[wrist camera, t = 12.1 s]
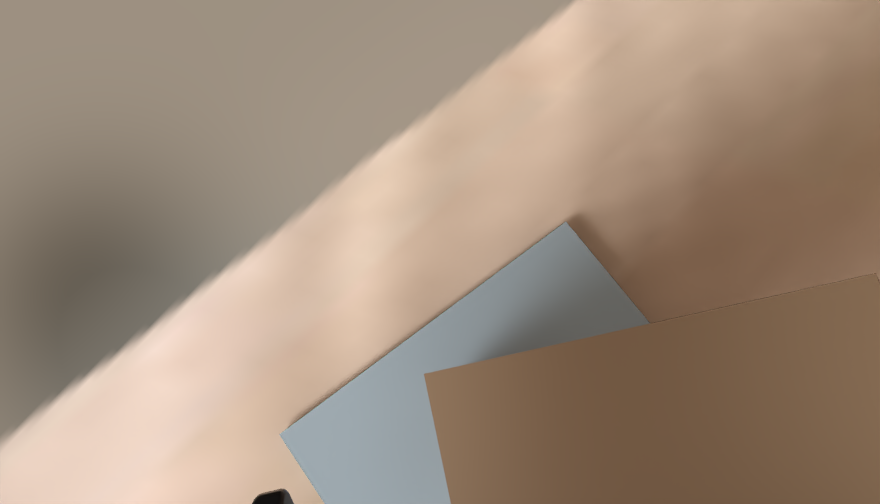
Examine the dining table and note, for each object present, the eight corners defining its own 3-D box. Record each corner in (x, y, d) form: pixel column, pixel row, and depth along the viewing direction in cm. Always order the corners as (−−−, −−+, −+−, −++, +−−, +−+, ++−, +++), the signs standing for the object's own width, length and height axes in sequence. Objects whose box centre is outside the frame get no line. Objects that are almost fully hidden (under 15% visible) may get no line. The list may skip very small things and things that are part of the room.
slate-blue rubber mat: (799, 513, 17) (810, 516, 17) (505, 768, 16) (506, 780, 15) (562, 226, 19) (565, 221, 19) (284, 433, 18) (278, 434, 17)
